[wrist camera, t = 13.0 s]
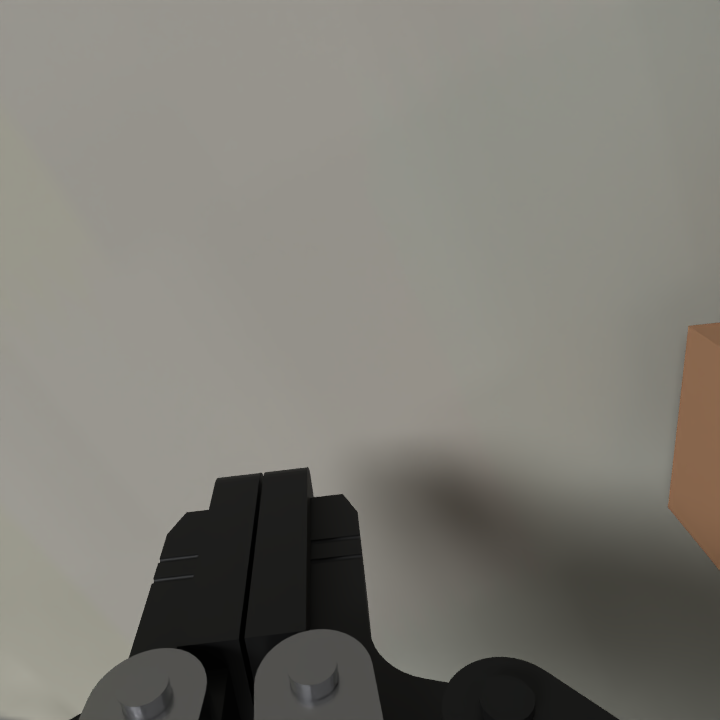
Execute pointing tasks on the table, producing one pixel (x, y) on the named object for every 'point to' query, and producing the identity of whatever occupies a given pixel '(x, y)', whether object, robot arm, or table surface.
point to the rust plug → (699, 442)
